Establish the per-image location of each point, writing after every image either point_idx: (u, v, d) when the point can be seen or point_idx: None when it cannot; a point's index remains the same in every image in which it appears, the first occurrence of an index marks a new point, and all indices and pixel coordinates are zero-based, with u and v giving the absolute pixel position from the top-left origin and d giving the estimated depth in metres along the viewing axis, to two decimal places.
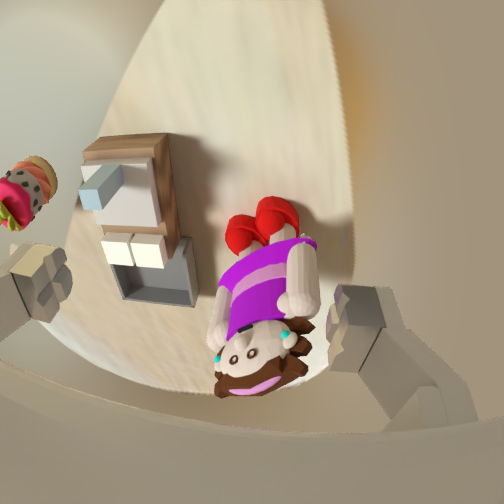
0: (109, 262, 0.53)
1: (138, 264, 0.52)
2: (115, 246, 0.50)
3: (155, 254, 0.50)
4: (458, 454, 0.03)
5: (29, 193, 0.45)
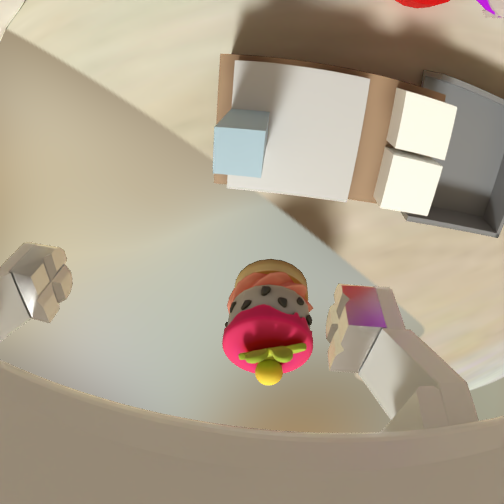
0: (425, 212, 0.27)
1: (441, 154, 0.23)
2: (396, 181, 0.25)
3: (426, 107, 0.21)
4: (458, 454, 0.03)
5: (261, 303, 0.35)
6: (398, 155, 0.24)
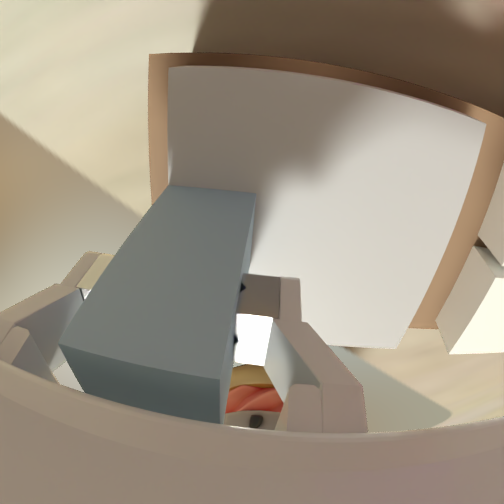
0: None
1: None
2: (485, 317, 0.12)
3: None
4: (458, 454, 0.03)
5: None
6: (501, 275, 0.11)
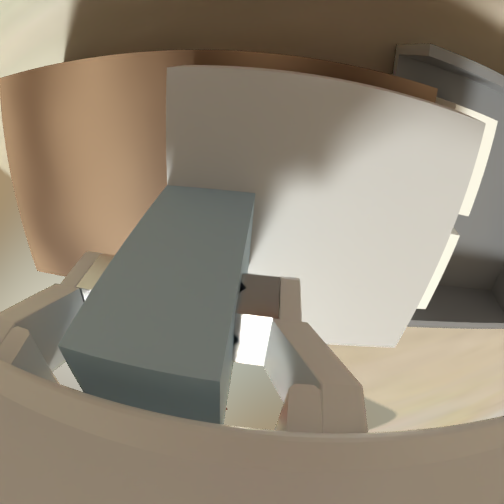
0: None
1: None
2: None
3: None
4: (458, 454, 0.03)
5: None
6: None
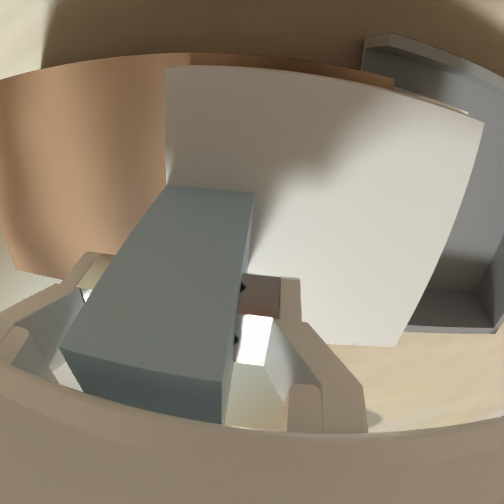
0: None
1: None
2: None
3: None
4: (458, 454, 0.03)
5: None
6: None
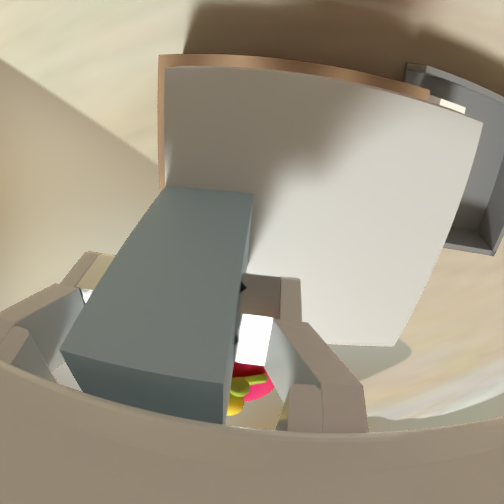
0: None
1: None
2: None
3: None
4: (458, 454, 0.03)
5: None
6: None
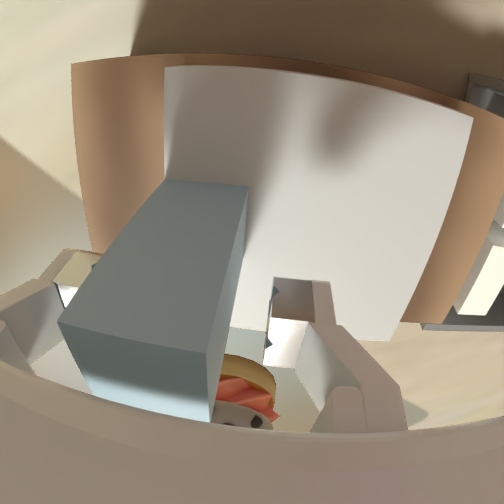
0: None
1: None
2: None
3: None
4: (458, 454, 0.03)
5: None
6: None
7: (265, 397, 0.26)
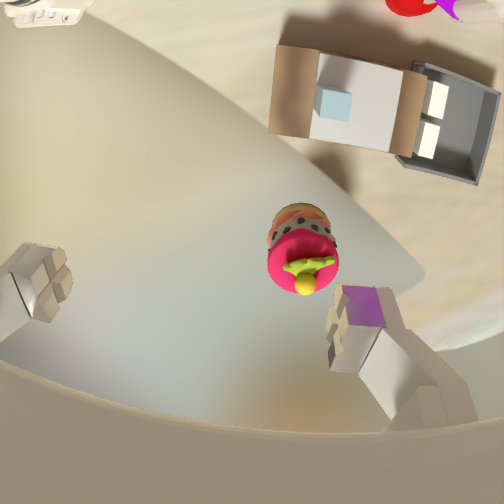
0: None
1: None
2: None
3: None
4: (458, 454, 0.03)
5: (298, 228, 0.45)
6: (437, 125, 0.37)
7: (328, 222, 0.49)
